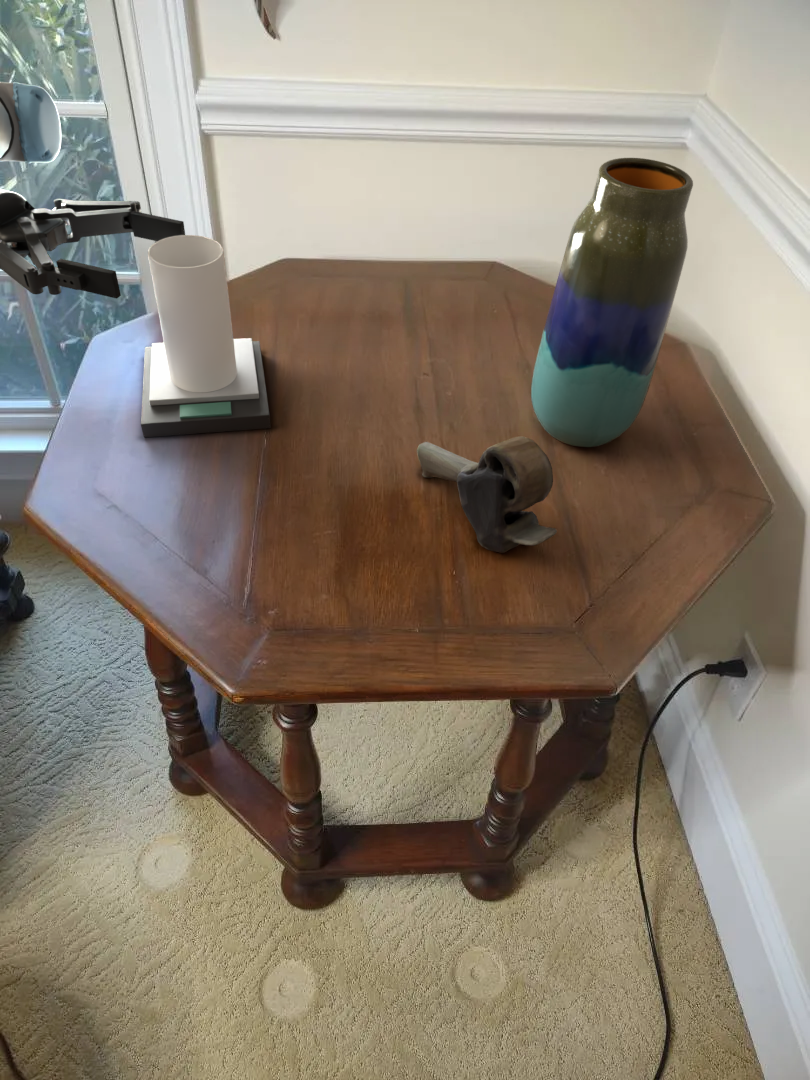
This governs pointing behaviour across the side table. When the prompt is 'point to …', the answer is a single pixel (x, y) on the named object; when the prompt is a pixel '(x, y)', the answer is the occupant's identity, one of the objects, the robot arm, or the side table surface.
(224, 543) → the side table surface
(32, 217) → the robot arm
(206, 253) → the cup
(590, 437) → the vase
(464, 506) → the grey two-tone handled device
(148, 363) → the scale
